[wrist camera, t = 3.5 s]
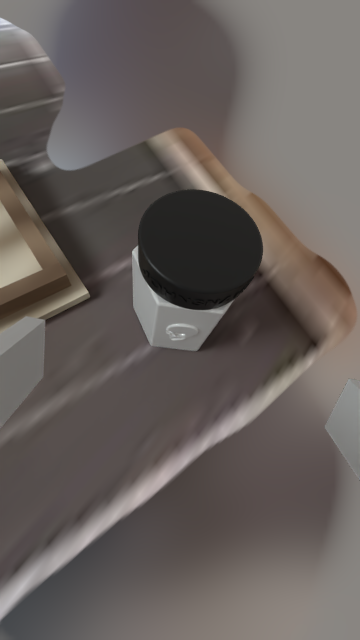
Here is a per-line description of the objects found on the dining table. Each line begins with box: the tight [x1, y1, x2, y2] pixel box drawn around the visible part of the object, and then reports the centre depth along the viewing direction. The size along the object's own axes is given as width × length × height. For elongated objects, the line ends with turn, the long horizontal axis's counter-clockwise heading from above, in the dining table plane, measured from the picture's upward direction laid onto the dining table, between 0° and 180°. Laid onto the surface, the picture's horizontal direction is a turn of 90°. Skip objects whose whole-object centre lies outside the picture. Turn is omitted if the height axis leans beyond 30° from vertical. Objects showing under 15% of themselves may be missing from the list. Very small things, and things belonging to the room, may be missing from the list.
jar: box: [132, 190, 263, 351], centre depth 23 cm, size 9×8×12 cm
